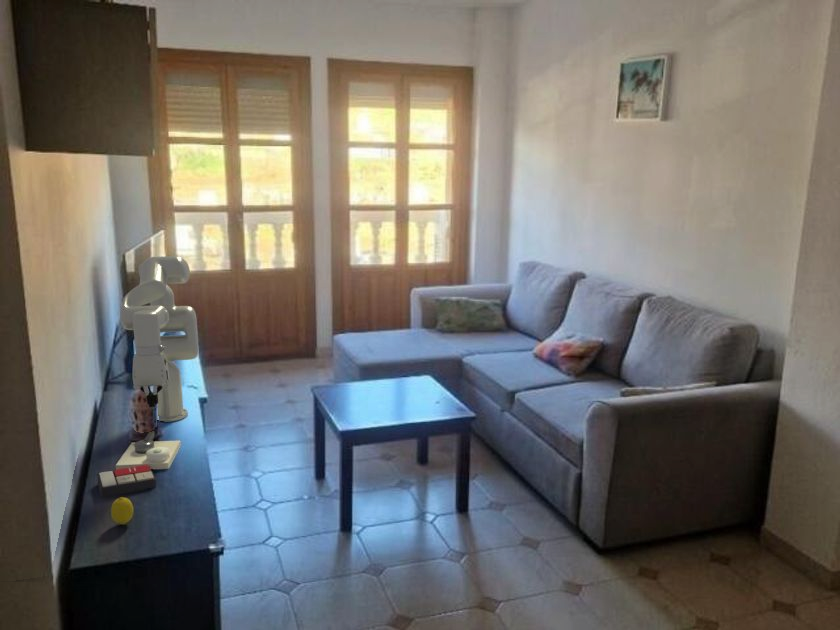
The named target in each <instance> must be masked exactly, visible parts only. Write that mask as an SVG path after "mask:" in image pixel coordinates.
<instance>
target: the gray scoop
mask: <svg viewBox="0 0 840 630" xmlns="http://www.w3.org/2000/svg"><path fill="white" fill-rule="evenodd" d="M154 436H155V430H152V432H150V431H149V432H148V433H147V435H146V436H145V437H144V439H141V440H138V441H136V443H135V444H134V445H135V452H136V453H139V454H144V453H146V452H147V451H148V450H149V449H152V448H154V442H155V441H154V439H155V437H154Z"/></svg>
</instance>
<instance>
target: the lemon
mask: <svg viewBox="0 0 840 630" xmlns="http://www.w3.org/2000/svg"><path fill="white" fill-rule="evenodd" d="M110 515H111V518H112V520H113V522H115V523H116V524H120V525H123V526H125V525H126V523H129V521H131V519H132V518H133V516H134V506H133V503H132V501H131V500H130V499H129V498H127V497H123V496H121V497H119V498H117V499H115V500H114V501H113V503H112V505H111V509H110Z"/></svg>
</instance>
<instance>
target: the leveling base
mask: <svg viewBox="0 0 840 630" xmlns="http://www.w3.org/2000/svg"><path fill="white" fill-rule="evenodd" d="M136 442H137V441H136ZM136 442H131V443H130V444H129V446H128V447H127V449H126V450H125V451H124V453H123V454H122V455H121V457H120V459H119V460H118V461H117V463H116V464H115V470H117V469H123V468H130V467H136V466H142V465H149V466H150V468H151V469H153V470H169V469H170V467H171V465H172V463H173V461H174V460H175V458H176V456H177V455H178V452H179V451H178V450H180V449H181V447H182V443H181V440H161V441H160V440H159V441H157V440H155V441H154V448H152V449H149V450H148V451H147V452H146V453H144V454H139V453H136V452H135V445H134V444H135V443H136ZM180 446H181V447H180ZM179 448H180V449H179Z"/></svg>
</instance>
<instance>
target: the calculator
mask: <svg viewBox="0 0 840 630" xmlns="http://www.w3.org/2000/svg"><path fill="white" fill-rule="evenodd" d="M96 476H97V486H98V491H99V494H100V497H101V499H108V498H114V497H117V496H119V495H125V494H130V493H129V492H131V493H134V492H133V491H136V492H138V491H137V490H140V491H143V490H142V489H145V490H148V489H147V488H150V489H153V488H156V486H157V480H156V476H155V474H154V472H153V470H151V468H150V466H149V465H142V466H136V467H130V468H123V469H117V470H116V469H113V470H110V471H109V470H108V471H103V472H99V473H97V475H96Z"/></svg>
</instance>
